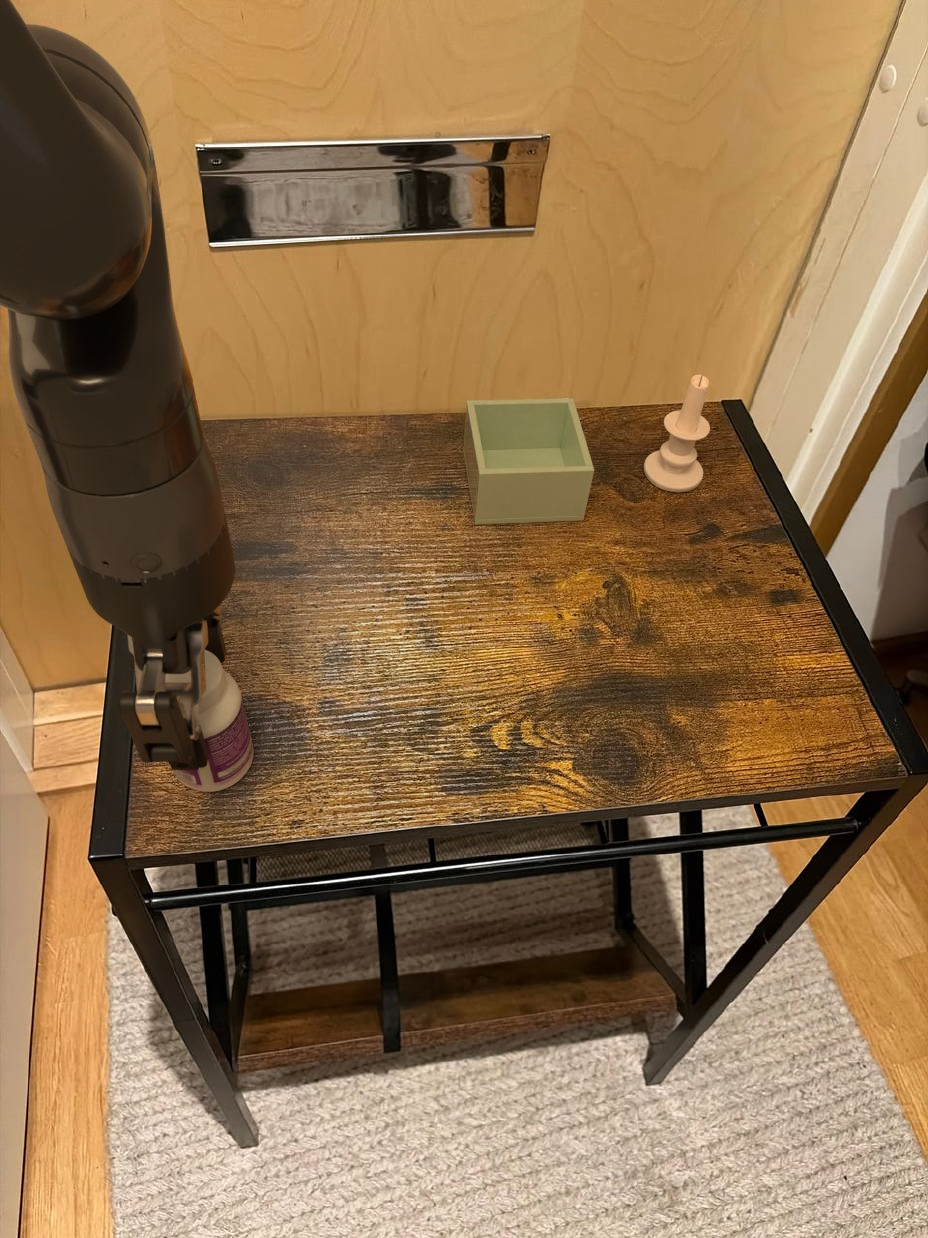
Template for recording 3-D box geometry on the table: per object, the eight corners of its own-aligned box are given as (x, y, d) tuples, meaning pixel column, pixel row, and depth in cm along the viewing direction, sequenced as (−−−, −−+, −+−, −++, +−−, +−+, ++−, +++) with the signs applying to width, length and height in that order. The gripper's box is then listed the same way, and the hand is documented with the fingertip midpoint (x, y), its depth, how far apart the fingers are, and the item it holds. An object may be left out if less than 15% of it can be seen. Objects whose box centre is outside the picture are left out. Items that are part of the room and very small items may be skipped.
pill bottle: (250, 719, 65) (231, 631, 57) (258, 786, 61) (239, 702, 54) (169, 732, 64) (139, 645, 56) (173, 801, 60) (141, 718, 53)
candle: (708, 492, 82) (742, 394, 74) (650, 493, 81) (678, 395, 73) (693, 452, 85) (724, 355, 77) (637, 453, 85) (663, 355, 77)
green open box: (583, 520, 79) (594, 470, 75) (474, 524, 78) (479, 473, 73) (564, 448, 85) (573, 397, 80) (462, 451, 84) (466, 400, 79)
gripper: (97, 418, 50) (159, 618, 62) (22, 631, 40) (112, 814, 53) (242, 422, 50) (274, 620, 63) (200, 634, 41) (247, 815, 54)
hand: (200, 709), depth 58 cm, fingers open, 7 cm apart
